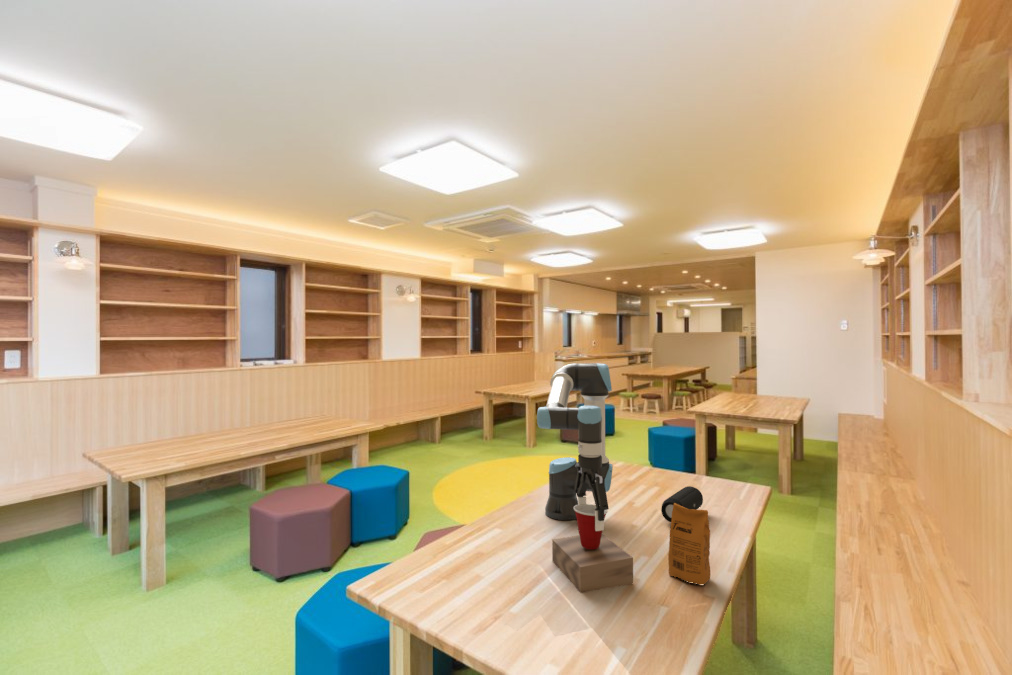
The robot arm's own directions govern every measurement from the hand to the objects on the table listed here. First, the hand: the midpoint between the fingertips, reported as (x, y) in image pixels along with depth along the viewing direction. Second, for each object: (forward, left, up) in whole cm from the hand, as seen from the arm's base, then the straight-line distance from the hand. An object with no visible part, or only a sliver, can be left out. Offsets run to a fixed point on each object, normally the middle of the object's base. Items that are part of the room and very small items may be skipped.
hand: (590, 523), depth 146 cm
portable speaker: (-30, +61, -16) cm, 70 cm away
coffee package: (+12, +28, -16) cm, 35 cm away
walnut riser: (0, 0, -16) cm, 16 cm away
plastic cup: (0, 0, -7) cm, 7 cm away
